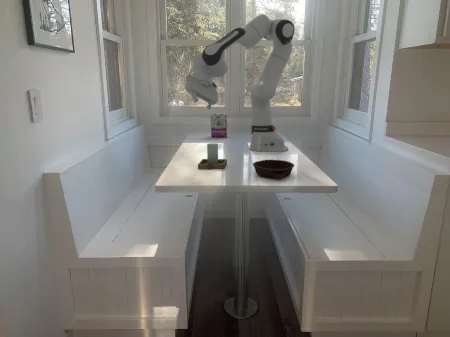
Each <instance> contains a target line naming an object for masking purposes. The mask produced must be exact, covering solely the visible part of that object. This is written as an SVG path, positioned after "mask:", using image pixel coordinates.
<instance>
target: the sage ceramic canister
mask: <svg viewBox="0 0 450 337" xmlns="http://www.w3.org/2000/svg"><path fill="white" fill-rule="evenodd" d="M206 149H207V150H206V153H207V154H206V156H207V158H206V159H208V164H218V159H219V144H218V143H207V145H206Z"/></svg>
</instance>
